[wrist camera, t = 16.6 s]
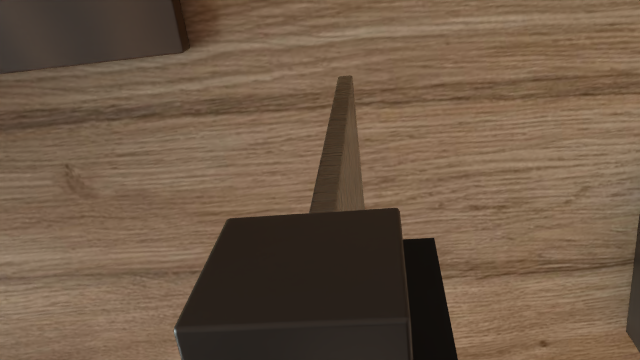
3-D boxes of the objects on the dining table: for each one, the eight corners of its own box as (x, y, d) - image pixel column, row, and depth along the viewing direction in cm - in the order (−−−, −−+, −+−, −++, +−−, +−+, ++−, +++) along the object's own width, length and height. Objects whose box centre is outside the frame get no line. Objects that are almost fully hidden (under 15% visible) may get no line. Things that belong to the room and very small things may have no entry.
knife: (303, 61, 15) (171, 328, 5) (384, 53, 15) (411, 320, 5) (337, 325, 19) (297, 787, 9) (402, 323, 19) (439, 796, 9)
